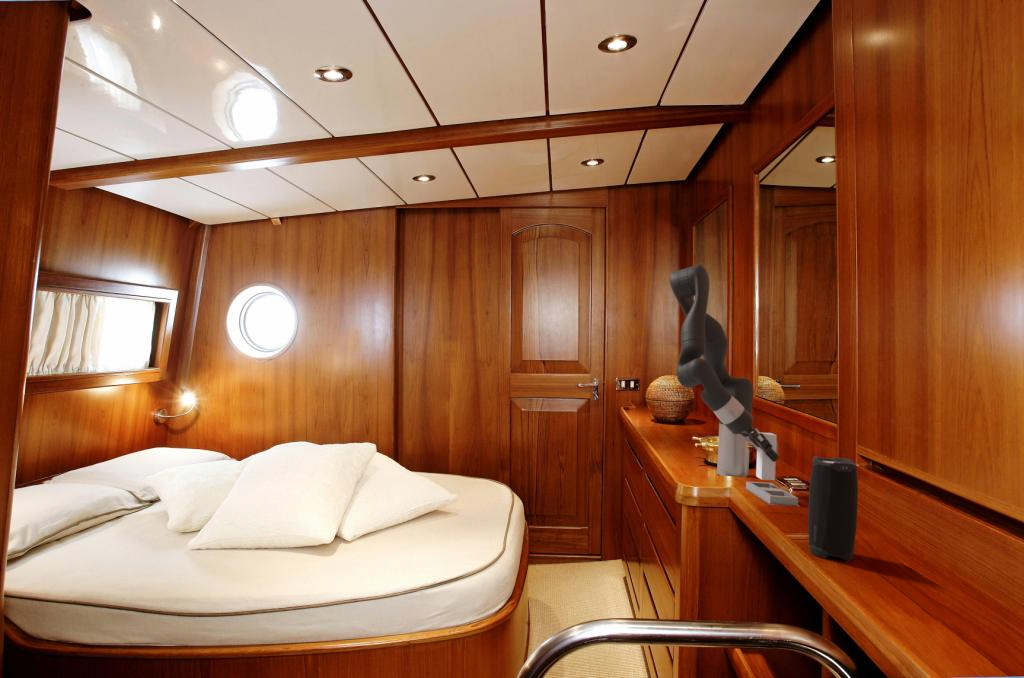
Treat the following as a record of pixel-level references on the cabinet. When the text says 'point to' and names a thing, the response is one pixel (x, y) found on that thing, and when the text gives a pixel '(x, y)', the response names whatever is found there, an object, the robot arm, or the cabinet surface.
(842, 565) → the cabinet surface
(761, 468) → the plug
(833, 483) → the portable speaker
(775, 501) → the panel
